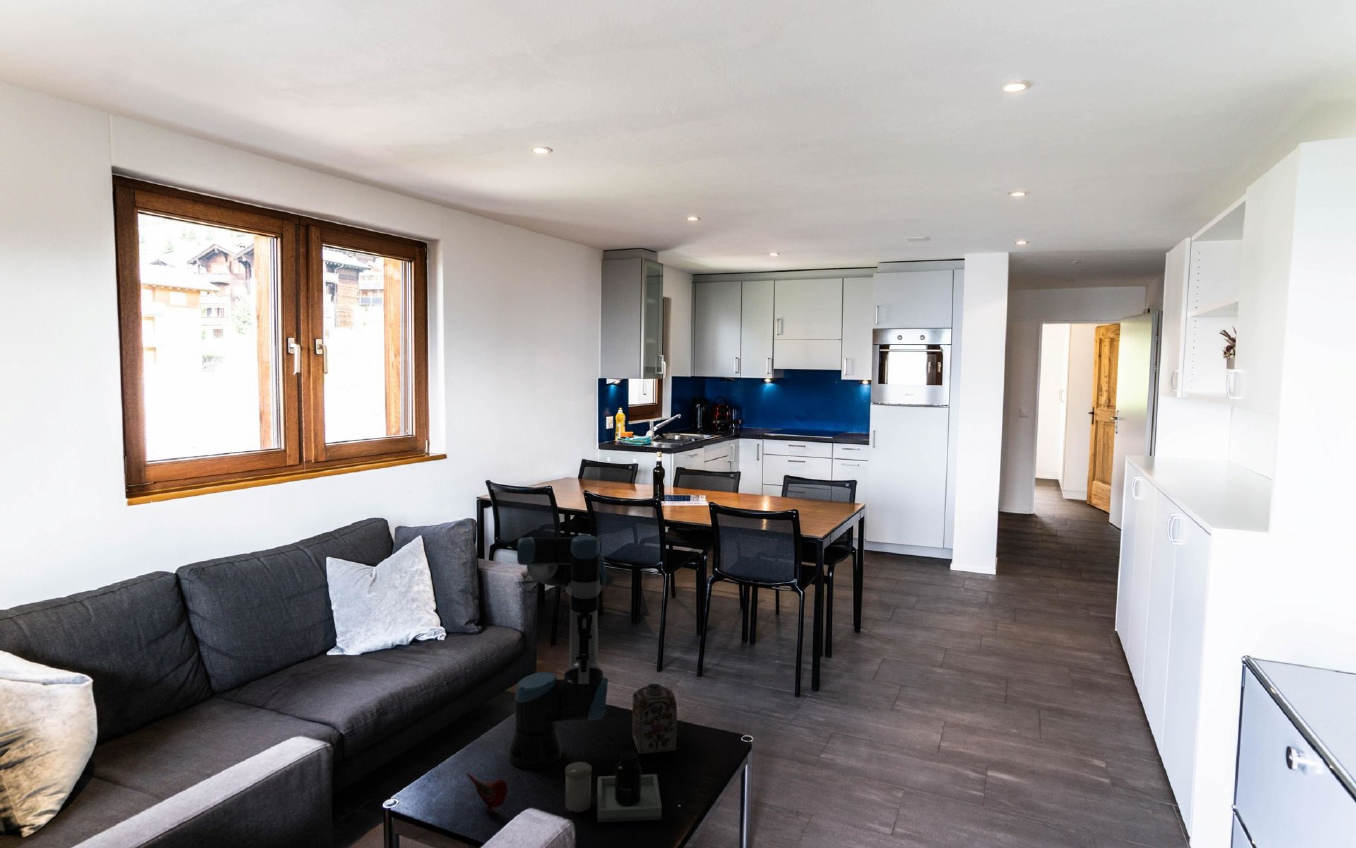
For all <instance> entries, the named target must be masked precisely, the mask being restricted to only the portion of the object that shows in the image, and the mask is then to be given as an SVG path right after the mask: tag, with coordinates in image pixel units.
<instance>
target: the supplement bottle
mask: <svg viewBox="0 0 1356 848" xmlns="http://www.w3.org/2000/svg"><path fill="white" fill-rule="evenodd" d="M614 771H615V773H614V774H615V775H614V776H615V800H616V802H617V803H618V804H620V805H624V806H631V805H635V804H637V803H638V802H639V801H640V798H641V775H642V766H641V764H640V763H639V753H638V752H636V751H634V750H624V751H622V752H620V754H619V762H618V763H617V764H616V766H615V770H614Z"/></svg>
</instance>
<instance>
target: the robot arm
mask: <svg viewBox="0 0 1356 848" xmlns="http://www.w3.org/2000/svg"><path fill="white" fill-rule="evenodd" d="M516 548H517V549H516V555H517V557H516V559H517V564H518V565H521V566H526V570H527V574H528V575H529V577H531V578H532V579H533V581H535V582H538V583H540V584H543V585H546V586H549V587H565V592H566V594H567V595H569V597H570V598H569V667H568V668H567V669H566V670H565V672H564V676H563V678H561V679H559V678H558V677H557V675H556V674H555V673H552V672H548V671H547V672H543V671H541V672H537V673H533V674H530V675H527V676H525V677H524V678H522V679H520V680H519V681H518V683H517V684H516V690H515V697H514V699H515V732H514V735H513V738H512V741H511V744H510V747H509V752H508V753H509V755H508V756H509V759H508V760H509V762H510V763H511V764H512V765H513V766H515V767H518V768H521V769H527V770H537V769H543V768H547V767H550V766H553V765H554V764H556V763H558V762H559V761H560V759H561V758H562V755H563V746H562V742H561V740H560V737H559V734H558V731H557V723H558V722H562V723H563V722H581V721H584V722H585V721H586V722H589V721H594V720H595V721H596V720H601V719H602V718H603V717H604V715H605V712H606V705H607V704H606V703H607V695H608V686H609V685H608V684H609V678H608V677H606V676H604V670H602V669H601V668H600V667H599V653H598V652H599V647H598V646H599V640H598V638H599V637H598V635H599V634H598V633H599V632H598V631H599V630H598V610H599V608H600V596H599V594H600V592H601V591H602V589H603V588H602V587H603V586H605V585H606V583H607V575H606V565H605V559H604V556H603V553H602V552H601V546H600V539H599V538H598V537H597V536H594V535H590V534H587V533H580V534H578V535H577V536H556V537H551V536H550V537H549V536H548V537H544V536H543V537H539V536H536V537H533V536H529V537H520V538H519V539H518V541H517V546H516Z"/></svg>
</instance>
